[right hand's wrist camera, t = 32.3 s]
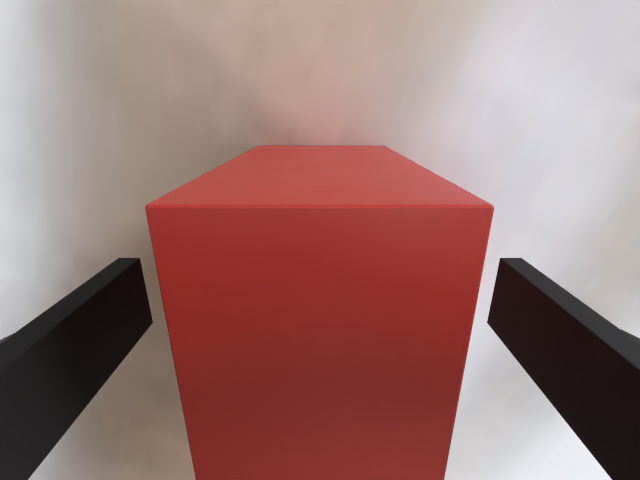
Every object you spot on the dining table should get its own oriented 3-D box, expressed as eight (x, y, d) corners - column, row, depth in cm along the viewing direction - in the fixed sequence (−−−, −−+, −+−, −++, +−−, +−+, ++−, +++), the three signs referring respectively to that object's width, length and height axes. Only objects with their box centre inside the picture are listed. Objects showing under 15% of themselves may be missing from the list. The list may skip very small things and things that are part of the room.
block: (375, 297, 20) (437, 517, 9) (267, 296, 20) (201, 515, 9) (385, 145, 17) (495, 205, 6) (257, 145, 17) (142, 204, 6)
